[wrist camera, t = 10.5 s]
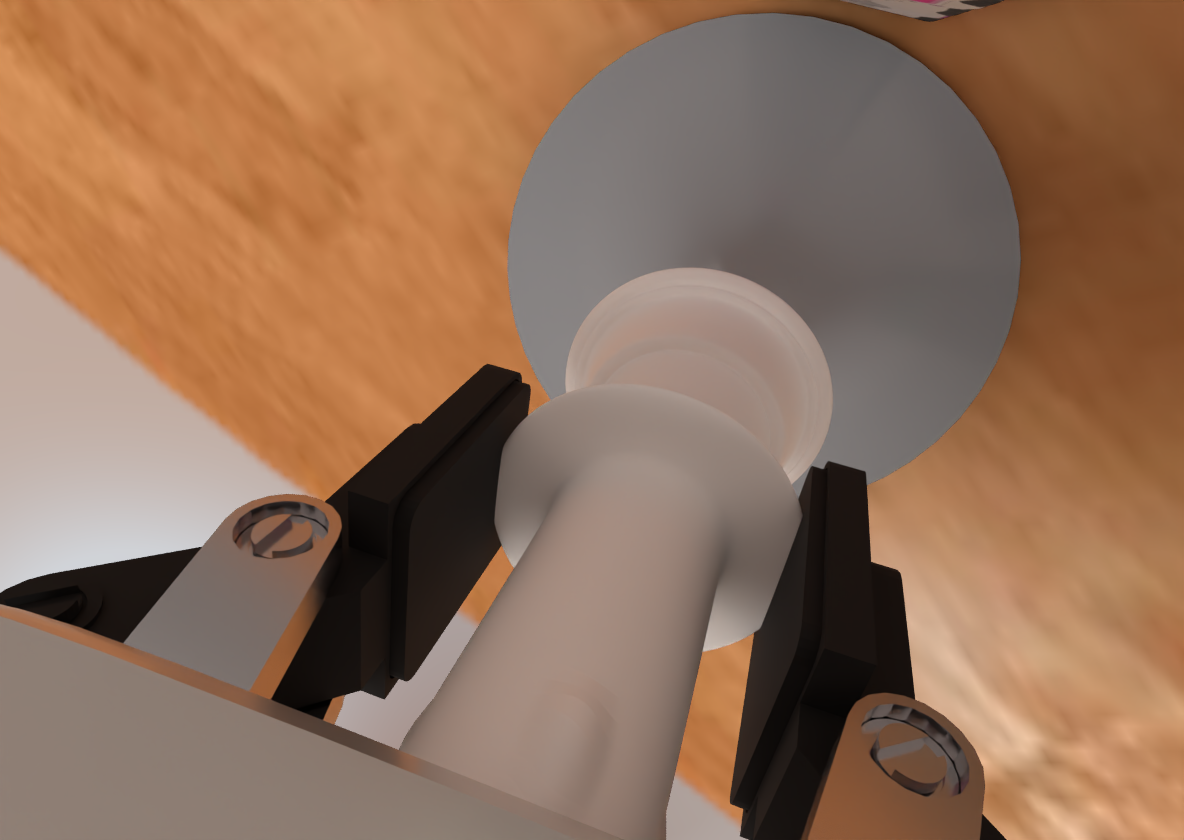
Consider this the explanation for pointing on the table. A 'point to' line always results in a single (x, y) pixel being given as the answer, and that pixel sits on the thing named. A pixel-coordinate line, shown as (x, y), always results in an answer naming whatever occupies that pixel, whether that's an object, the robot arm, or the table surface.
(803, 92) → the slate plate
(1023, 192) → the table surface
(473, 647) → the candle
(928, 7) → the candy bar box
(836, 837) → the robot arm
